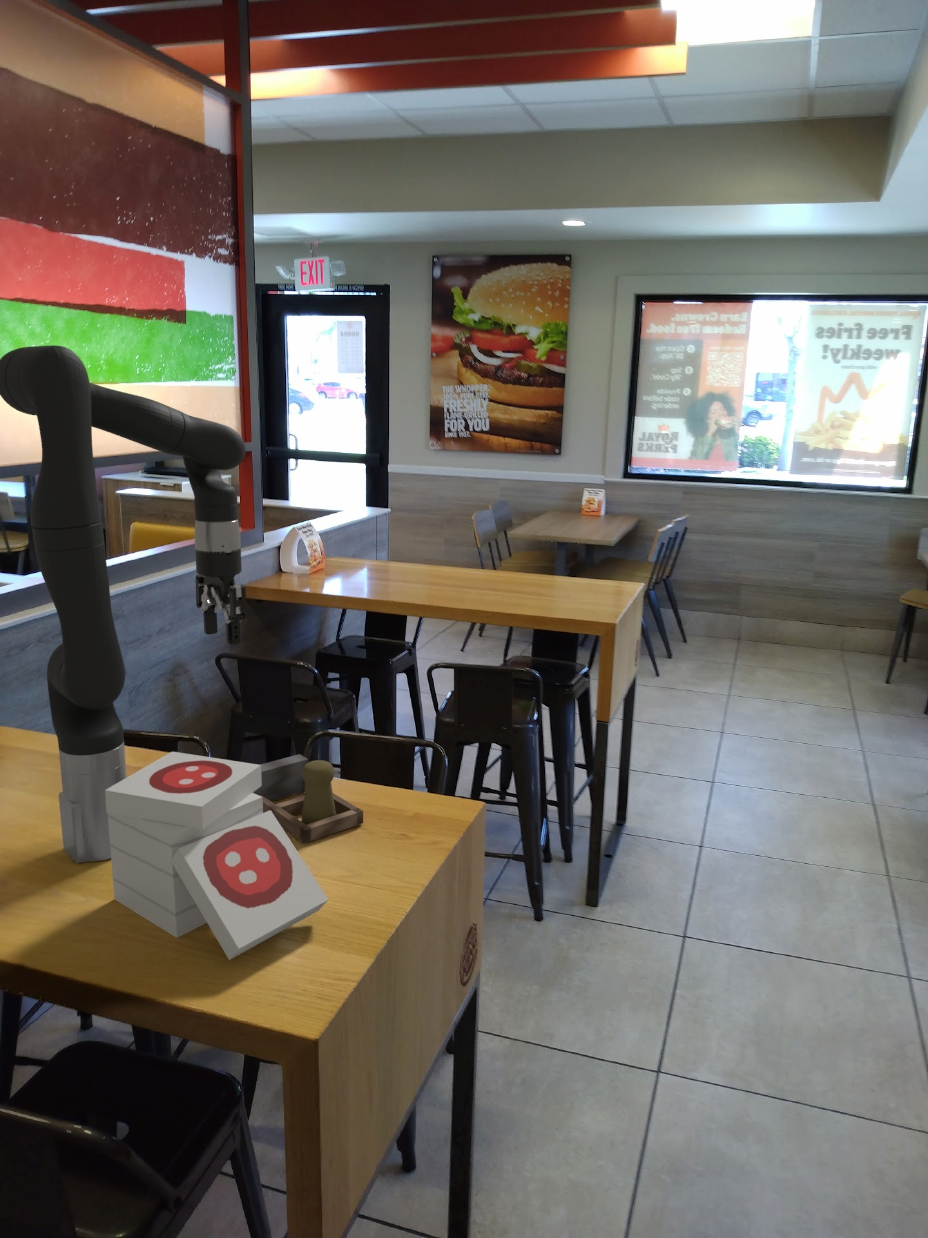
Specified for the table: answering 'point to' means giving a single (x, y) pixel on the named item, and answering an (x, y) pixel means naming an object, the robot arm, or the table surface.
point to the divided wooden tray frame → (300, 801)
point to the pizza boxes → (206, 852)
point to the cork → (318, 791)
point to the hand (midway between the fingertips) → (222, 638)
